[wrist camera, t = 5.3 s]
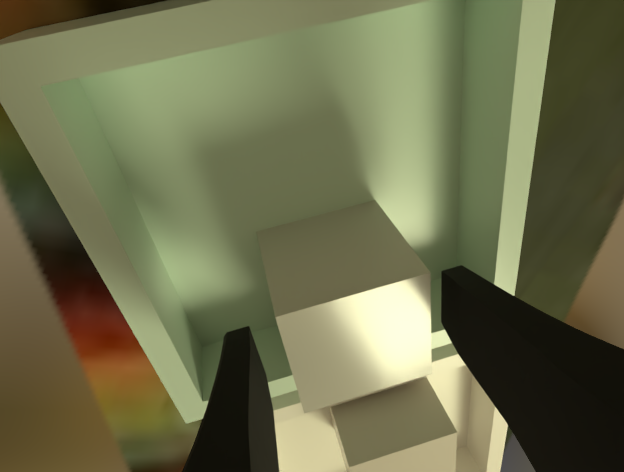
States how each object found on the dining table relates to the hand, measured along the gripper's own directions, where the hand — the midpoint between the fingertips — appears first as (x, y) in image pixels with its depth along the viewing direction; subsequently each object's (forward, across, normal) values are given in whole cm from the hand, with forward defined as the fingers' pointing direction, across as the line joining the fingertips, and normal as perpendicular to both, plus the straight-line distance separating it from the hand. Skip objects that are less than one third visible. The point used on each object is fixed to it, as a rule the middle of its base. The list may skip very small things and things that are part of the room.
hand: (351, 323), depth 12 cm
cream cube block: (+3, 0, 0) cm, 3 cm away
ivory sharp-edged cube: (+3, -1, +8) cm, 9 cm away
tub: (+4, 0, -2) cm, 5 cm away
